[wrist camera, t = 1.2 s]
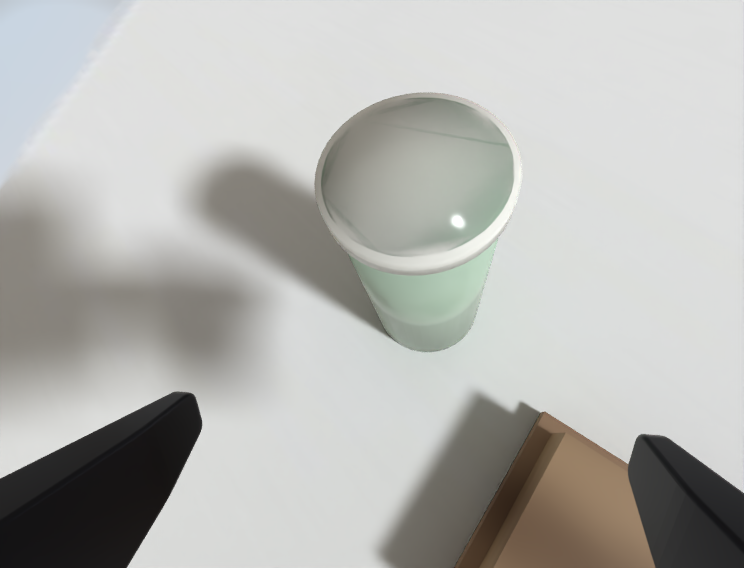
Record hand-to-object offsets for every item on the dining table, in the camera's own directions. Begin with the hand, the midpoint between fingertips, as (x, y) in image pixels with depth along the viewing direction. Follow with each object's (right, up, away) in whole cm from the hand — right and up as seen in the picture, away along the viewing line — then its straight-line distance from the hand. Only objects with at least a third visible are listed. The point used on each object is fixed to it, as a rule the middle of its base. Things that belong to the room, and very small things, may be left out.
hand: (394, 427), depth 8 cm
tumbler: (+3, +2, +14) cm, 15 cm away
